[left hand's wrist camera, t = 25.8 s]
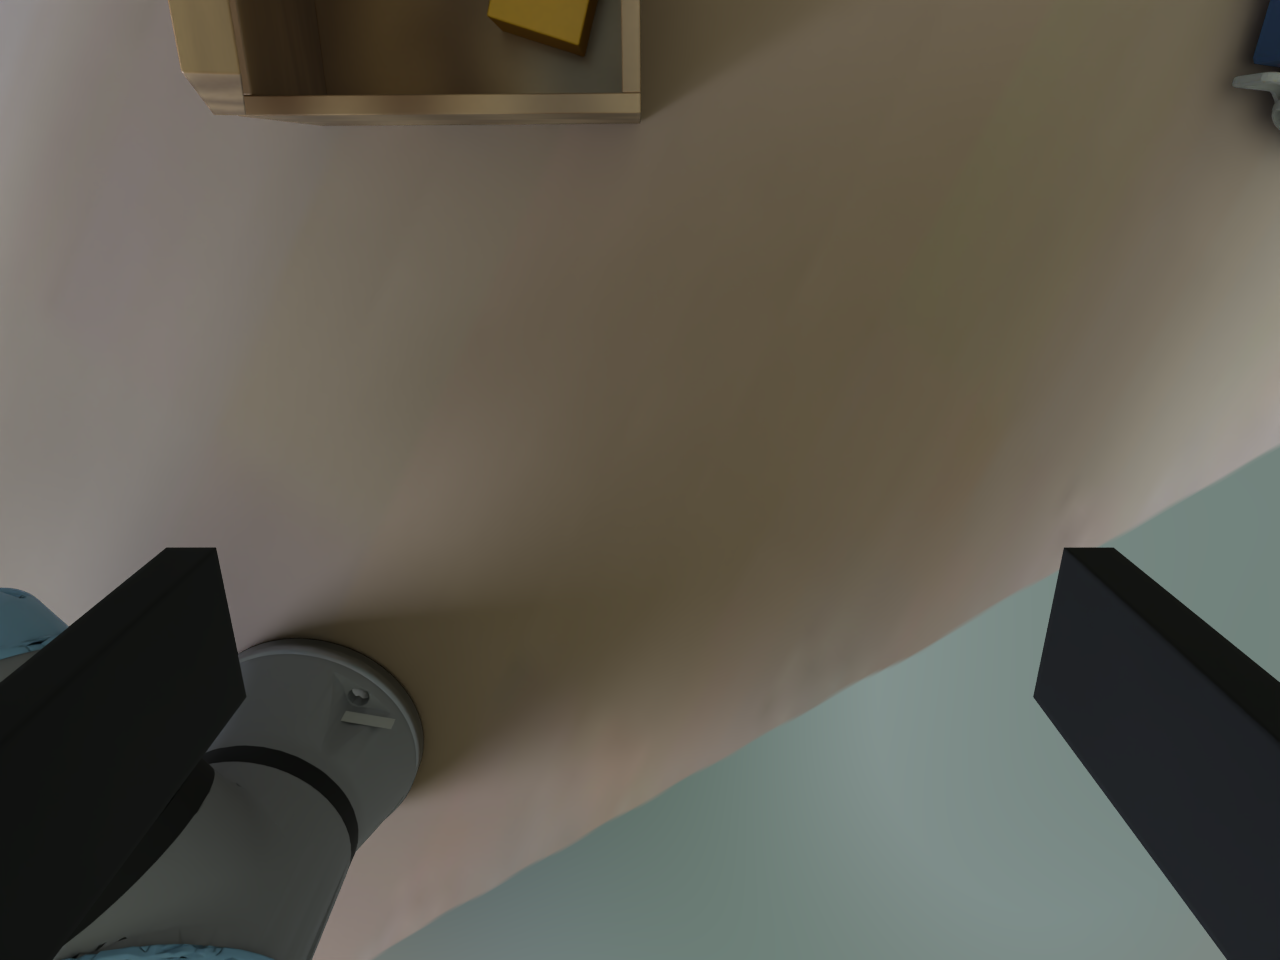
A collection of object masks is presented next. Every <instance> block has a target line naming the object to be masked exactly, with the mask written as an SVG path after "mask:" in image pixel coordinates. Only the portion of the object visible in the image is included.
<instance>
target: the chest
mask: <svg viewBox="0 0 1280 960" xmlns="http://www.w3.org/2000/svg"><path fill="white" fill-rule="evenodd" d="M489 1H490V0H229V2H230V8H231V14H232V20H233V26H234V33H235V39H236V45H237V51H238V57H239V63H240V69H241V76H242V85H243V93H244V101H245V110H246V115H238V116H243V117H252V118H260V119H269V120H277V121H286V122H295V123H303V124H312V125H321V126H355V125H494V124H632V123H640V122H641V39H640V0H598V2H597V6H596V11H595V15H594V19H593V23H592V27H591V32H590V36H589V40H588V44H587V49H586V53H585V56H583V57H582V56H579V55H576V54H573V53H570V52H567V51H564V50H561V49H558V48H554V47H551V46H548V45H545V44H542V43H539V42H536V41H533V40H530V39H526V38H523V37H520V36H517V35H514V34H511V33H508V32H505V31H502V30H501V29H500V28H499V27H498V26H497V25H496V24H495V23H494V22H493V21H492V20H491V19H490V18H489V17H488V16H487V11H488V6H489Z"/></svg>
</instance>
